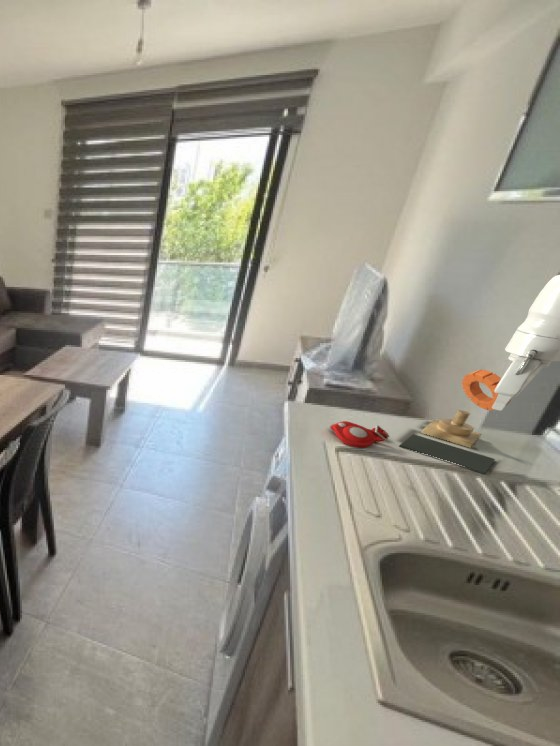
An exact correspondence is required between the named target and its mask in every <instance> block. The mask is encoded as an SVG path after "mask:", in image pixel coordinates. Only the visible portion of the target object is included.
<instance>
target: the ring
mask: <svg viewBox="0 0 560 746" xmlns="http://www.w3.org/2000/svg"><path fill="white" fill-rule="evenodd" d="M501 378H502V377H500V376H499V375H498V374H496V373H495V372H492V371H489V370H486V369H478V370H477V369H476V370H474V371H472V372H470V373H467V374H466V375H464V377H463V379H461V380H462V381H461V386H462V389H463V392H464V393H465V396H466V397H467V398H468V399H469V401H471V402H472V403H473V404H474V405H475V406H477V407H478V408H480V409H483V410H486V411H496V410H495V409H493V408H492V406H493V404H494V403H495V401H496V399H497V396H498V394H497V393H495V392H494V390H495V388H496V386H497V385H498V383H499V382H500V380H501ZM480 383H481V384H483V385H485V386H486V387H487V388H488V389H489V391H490V392H491V394H492V397H490V396H489V395H487V394H486V393H484V391H483V390H482V388H481V387H480ZM511 401H512V399H511V400H509V402H508V403H507V404H506V406H508V405H509V404H510V402H511Z"/></svg>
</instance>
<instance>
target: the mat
mask: <svg viewBox="0 0 560 746" xmlns="http://www.w3.org/2000/svg"><path fill="white" fill-rule="evenodd" d="M398 447H399V448H402V449H405V448H406V450H408V449H410V450H409V451H411V450H413V451H412V452H414V451H417V452H416V453H418V452H420V453H419V454H421V453H424V454H428V455H431V456H434V457H437V458H440V459H443V460H447V461H450V462H453V463H456V464H459V465H462V466H465V467H467V468H470V469H472V470H471V471H473V470H475V471H474V472H476V471H477V472H476V473H480V474H482V475H485V474H486V472H487V471H488V470H489V468H490V466H492V464H493V463H494V461H496V459H495V458H493V457H489V456H486V455H483V454H481V453H477V452H474V451H471V450H467V449H464V448H460V447H457V446H454V445H451V444H447V443H444V442H441V441H437V440H434V439H431V438H427V437H424V436H421V435H418V434H414V433H413V434H410V436H409V437H407V438H406V439H405V440H404V441H403V442H402V443H400V444H399V445H398ZM424 454H423V455H424ZM467 468H466V469H467ZM470 469H469V470H470Z"/></svg>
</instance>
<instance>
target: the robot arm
mask: <svg viewBox="0 0 560 746" xmlns="http://www.w3.org/2000/svg"><path fill="white" fill-rule="evenodd" d="M504 351H505V352H506V353H509V356H508V357H507V359H508V360H509V361H510V362H511V363H510V365H509V366H508V368H507V369H506V371H505V372H504V374H503V375H502V376H501V377H500V378H501V380H500V382H499V383H498V385H497V386H496V388H495V390H494V392H495V393H497V394H498V396H497V399H496V401H495V403H494V404H493V406H492V408H493V409H495V410H494V411H503V410H504V409H505V407H506V406H507V405H506V404H507V403H508V402H509V400H511V401H512V399H513V398H517V397H518V396H519V395H520V394H521V392H522V391H523V390H524V389H525V388H526V387H527V386H528V385H529V383H530V382H531V381H532V380H533V379H534V378H535V377H536V376H537V375H538V373H539V372H541V370H543V368H549V367H550V365H551V363H553V362H560V273H558V274H556V275H554V276H553V277H552V278H551V279H550V280H549V281H548V282H546V284H545V285H544V287H543V288H542V289H541V290H540V292H539V293H538V295H537V296H536V298H535V299H534V300H533V302H532V304H531V305H530V307H529V309H528V313H527V316H526V318H525V319H524V321H523V322H522V323H521V324H520V325H518V327H517V329H516V330H515V332H514V334H513V335H512V337H511V338H510V340H509V342H508V343H507V345H506V346H505V348H504ZM509 403H510V402H509Z"/></svg>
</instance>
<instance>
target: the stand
mask: <svg viewBox="0 0 560 746" xmlns="http://www.w3.org/2000/svg"><path fill="white" fill-rule="evenodd" d="M470 415H471V413H470V412H469V411H466V410H460V409H459V410H457V412H456V413H455V415H454V416H453V418H452V419H451V418H441V419H440V420H439V421H438V420H435V419H434V420H432V421H431V422H430V423H428V424H427V425H426V426H425V427H424V428H423V429H422V431H421V434H423V435H426V434H427V435H426V436H429V435H430V437H433V436H434V437H433V438H436V437H437V439H439V438H440V439H439V440H442V441H446V440H447V442H449V441H450V442H449V443H453V444H456V445H460V446H463V447H467V448H470V449H471V448H472V447H473V446H474V445H475V444H476V442H477V441H478V440H479V439H480V438H481V436H482V433H481V432H477V431H474V430H475V427H474V426H472V425H470V424H469V423H466V422H467V420H468V418H469V416H470Z"/></svg>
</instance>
